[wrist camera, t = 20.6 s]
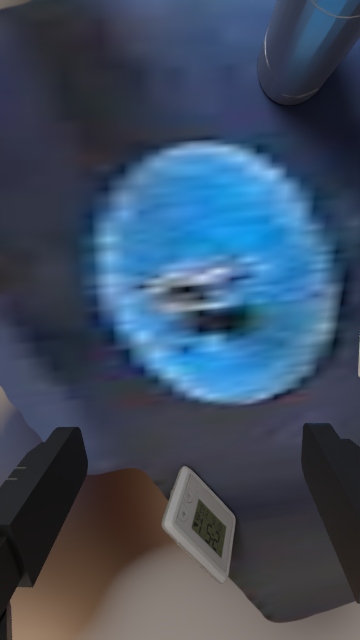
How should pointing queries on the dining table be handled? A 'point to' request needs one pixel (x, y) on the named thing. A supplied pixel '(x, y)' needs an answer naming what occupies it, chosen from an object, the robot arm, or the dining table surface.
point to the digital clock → (200, 524)
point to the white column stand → (359, 363)
